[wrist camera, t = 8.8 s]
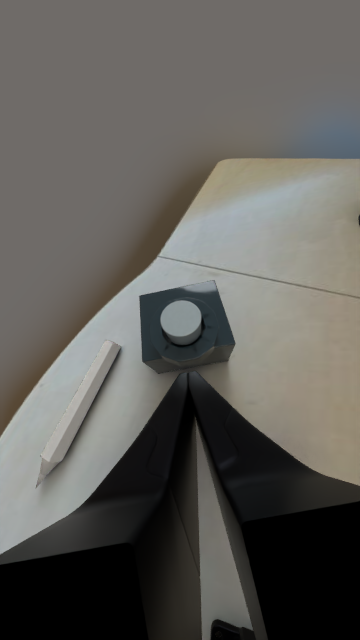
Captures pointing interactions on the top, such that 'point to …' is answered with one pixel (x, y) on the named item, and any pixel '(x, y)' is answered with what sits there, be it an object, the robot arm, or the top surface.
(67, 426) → the pale grey rod
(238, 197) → the top surface
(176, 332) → the pale grey disc
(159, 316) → the push button box
